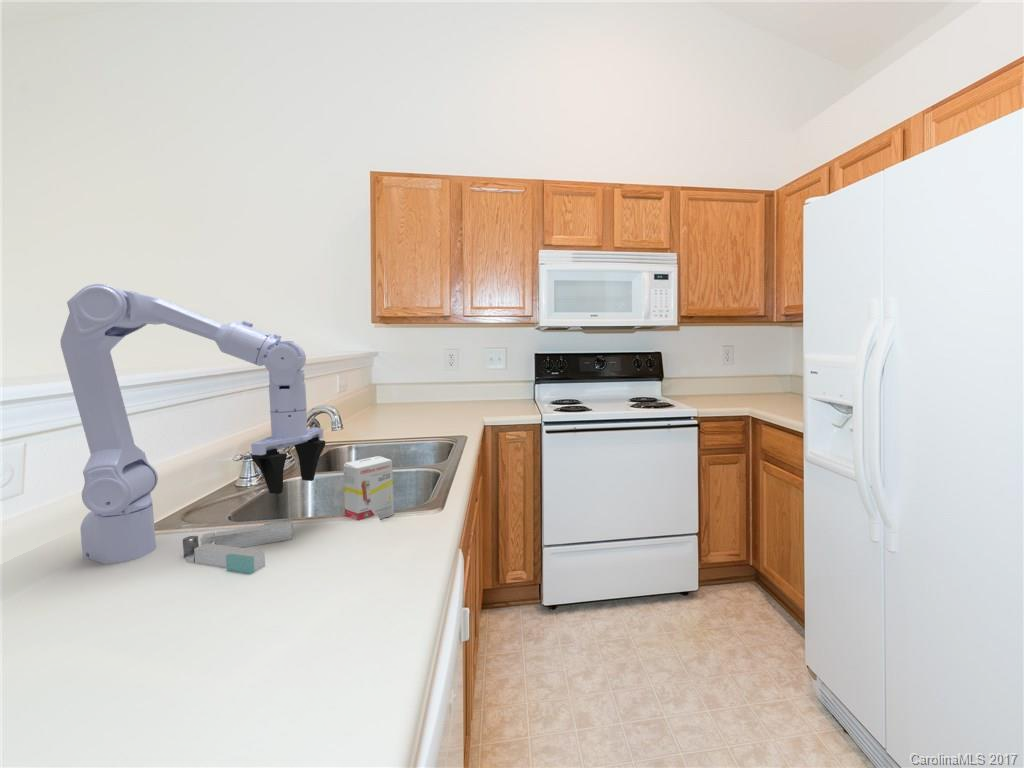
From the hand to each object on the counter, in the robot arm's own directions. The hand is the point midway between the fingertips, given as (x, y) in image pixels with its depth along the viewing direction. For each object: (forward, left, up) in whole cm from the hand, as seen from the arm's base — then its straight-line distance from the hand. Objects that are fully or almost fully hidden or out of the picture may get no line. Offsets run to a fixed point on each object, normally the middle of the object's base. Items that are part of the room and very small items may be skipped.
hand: (292, 486), depth 80 cm
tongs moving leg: (-5, -5, -9) cm, 11 cm away
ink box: (+7, +13, -10) cm, 18 cm away
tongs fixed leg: (-3, -12, -9) cm, 15 cm away
